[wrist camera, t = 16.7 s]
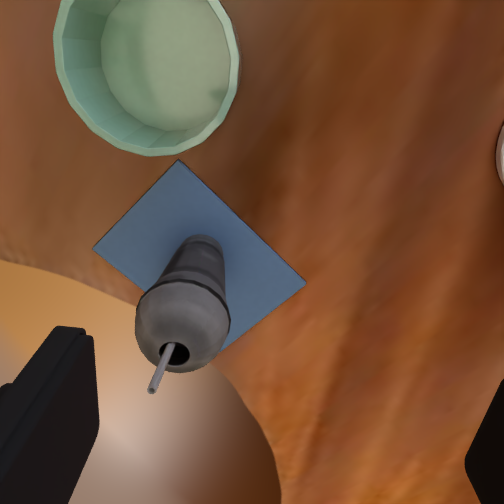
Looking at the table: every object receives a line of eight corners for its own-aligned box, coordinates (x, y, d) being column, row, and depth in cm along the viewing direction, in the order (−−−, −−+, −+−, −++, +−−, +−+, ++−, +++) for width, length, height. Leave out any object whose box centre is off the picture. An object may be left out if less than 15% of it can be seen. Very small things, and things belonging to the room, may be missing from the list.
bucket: (272, 63, 35) (277, 66, 28) (174, 164, 39) (156, 190, 31) (162, -66, 31) (134, -102, 24) (65, 60, 35) (16, 62, 28)
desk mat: (306, 281, 44) (306, 284, 44) (220, 349, 48) (219, 352, 47) (178, 158, 38) (177, 160, 38) (93, 247, 42) (91, 249, 42)
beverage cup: (182, 293, 44) (131, 460, 26) (153, 233, 41) (73, 375, 23) (247, 274, 43) (240, 434, 25) (222, 211, 40) (194, 341, 22)
